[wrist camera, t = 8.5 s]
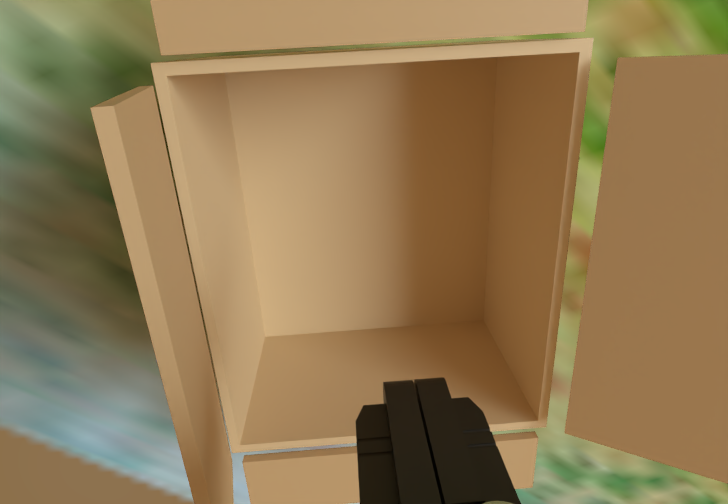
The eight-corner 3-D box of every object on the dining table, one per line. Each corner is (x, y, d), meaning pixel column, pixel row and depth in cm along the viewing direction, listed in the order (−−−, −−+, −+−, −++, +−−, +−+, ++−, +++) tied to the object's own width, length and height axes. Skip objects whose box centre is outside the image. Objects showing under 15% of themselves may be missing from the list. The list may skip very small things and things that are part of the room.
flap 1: (152, 85, 14) (138, 86, 14) (113, 105, 9) (90, 107, 9) (232, 461, 20) (222, 463, 20) (236, 608, 15) (222, 611, 15)
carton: (203, -20, 22) (119, -61, 14) (509, -36, 23) (618, -85, 14) (267, 382, 31) (241, 512, 22) (487, 364, 31) (545, 486, 23)
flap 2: (564, 433, 21) (566, 426, 21) (738, 486, 18) (737, 478, 18) (617, 58, 15) (618, 57, 15) (888, 49, 12) (882, 49, 12)
